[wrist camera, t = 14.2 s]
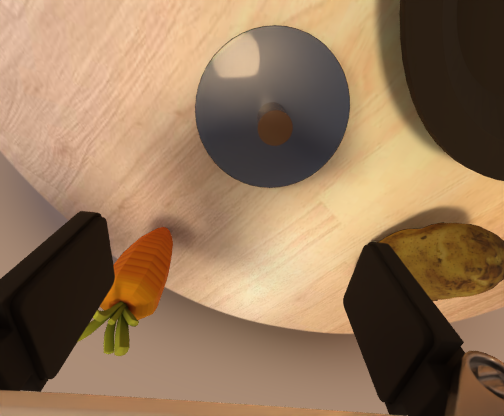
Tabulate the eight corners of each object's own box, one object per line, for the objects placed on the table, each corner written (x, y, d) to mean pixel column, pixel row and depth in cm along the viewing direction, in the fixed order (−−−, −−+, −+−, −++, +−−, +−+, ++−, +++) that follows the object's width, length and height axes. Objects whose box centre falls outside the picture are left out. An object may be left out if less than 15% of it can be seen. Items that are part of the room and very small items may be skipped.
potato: (344, 230, 31) (370, 280, 24) (464, 196, 28) (534, 240, 21) (356, 281, 34) (382, 337, 27) (464, 254, 32) (522, 308, 25)
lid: (195, 174, 28) (182, 199, 23) (200, 14, 21) (183, -1, 16) (324, 190, 28) (338, 218, 23) (367, 41, 22) (400, 34, 17)
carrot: (136, 232, 31) (48, 356, 18) (156, 202, 29) (75, 316, 16) (173, 253, 33) (117, 382, 19) (195, 226, 31) (149, 349, 17)
